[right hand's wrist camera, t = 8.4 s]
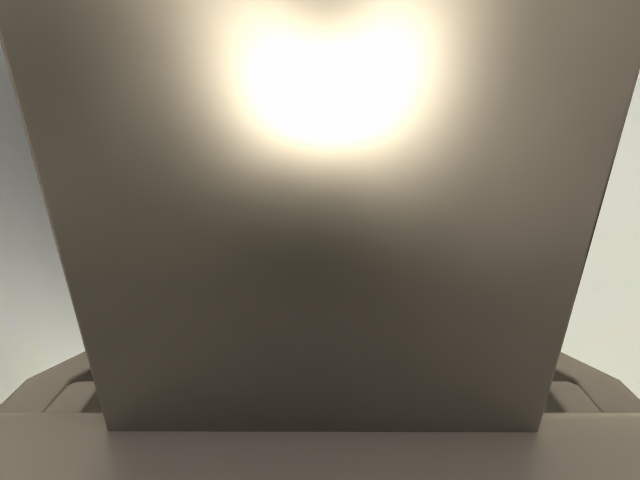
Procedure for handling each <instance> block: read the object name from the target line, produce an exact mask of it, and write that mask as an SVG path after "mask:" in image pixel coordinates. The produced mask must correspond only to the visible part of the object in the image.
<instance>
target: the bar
mask: <svg viewBox="0 0 640 480" xmlns="http://www.w3.org/2000/svg"><path fill="white" fill-rule="evenodd" d="M0 40H1V43H2V47H3V51H4V54H5V58H6V62H7V65H8V69H9V73H10V76H11V80H12V84H13V87H14V91H15V95H16V98H17V102H18V106H19V109H20V113H21V117H22V120H23V124H24V128H25V131H26V135H27V139H28V142H29V146H30V150H31V153H32V157H33V161H34V164H35V168H36V172H37V175H38V179H39V183H40V186H41V190H42V194H43V197H44V201H45V204H46V208H47V212H48V215H49V219H50V223H51V226H52V230H53V234H54V237H55V241H56V245H57V248H58V252H59V256H60V259H61V263H62V267H63V270H64V274H65V278H66V281H67V285H68V289H69V292H70V296H71V300H72V303H73V307H74V311H75V314H76V318H77V322H78V325H79V329H80V333H81V336H82V340H83V344H84V347H85V351H86V355H87V358H88V362H89V366H90V369H91V373H92V377H93V380H94V384H95V388H96V391H97V395H98V399H99V402H100V406H101V410H102V413H103V417H104V421H105V424H106V428H107V431H182V432H538V430H539V426H540V422H541V419H542V415H543V412H544V408H545V405H546V401H547V398H548V394H549V390H550V387H551V383H552V380H553V376H554V373H555V369H556V366H557V362H558V358H559V355H560V351H561V348H562V344H563V341H564V337H565V333H566V330H567V326H568V323H569V319H570V316H571V312H572V309H573V305H574V301H575V298H576V294H577V291H578V287H579V284H580V280H581V276H582V273H583V269H584V266H585V262H586V259H587V255H588V252H589V248H590V244H591V241H592V237H593V234H594V230H595V227H596V223H597V220H598V216H599V212H600V209H601V205H602V202H603V198H604V195H605V191H606V187H607V184H608V180H609V177H610V173H611V170H612V166H613V163H614V159H615V155H616V152H617V148H618V145H619V141H620V138H621V134H622V131H623V127H624V123H625V120H626V116H627V113H628V109H629V106H630V102H631V98H632V95H633V91H634V88H635V84H636V81H637V77H638V74H639V70H640V0H0Z"/></svg>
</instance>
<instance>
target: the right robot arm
mask: <svg viewBox="0 0 640 480" xmlns="http://www.w3.org/2000/svg"><path fill="white" fill-rule="evenodd" d="M0 480H640V399H638V398H637V397H636V396H635V395H634V394H633V393H632V392H631V391H630V390H629V389H628V388H627V387H626V386H625V385H624V384H623V383H622V382H621V381H620V380H618V379H616V378H614V377H612V376H610V375H607V374H605V373H603V372H601V371H599V370H597V369H595V368H593V367H591V366H589V365H587V364H585V363H582V362H580V361H578V360H576V359H574V358H572V357H570V356H568V355H566V354H564V353H562V352H560V355H559V358H558V362H557V366H556V369H555V373H554V376H553V380H552V383H551V387H550V390H549V394H548V398H547V401H546V405H545V408H544V412H543V415H542V419H541V422H540V426H539V430H538V432H182V431H107V428H106V424H105V421H104V417H103V413H102V410H101V406H100V402H99V399H98V395H97V391H96V388H95V384H94V380H93V377H92V373H91V369H90V366H89V362H88V358H87V355H86V351H85V352H83V353H81V354H79V355H77V356H75V357H73V358H71V359H68V360H66V361H64V362H62V363H60V364H58V365H56V366H54V367H52V368H50V369H48V370H46V371H44V372H42V373H39V374H37V375H35V376H33V377H31V378H29V379H27V380H26V381H25V382H24V383H23V384H22V385H21V386H20V387H19V388H18V389H17V390H16V391H14V392H13V393H12V394H11V395H10V396H9V397H8V398H7V399H6V400H5V401H4V402H3V403H2V404H1V405H0Z"/></svg>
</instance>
